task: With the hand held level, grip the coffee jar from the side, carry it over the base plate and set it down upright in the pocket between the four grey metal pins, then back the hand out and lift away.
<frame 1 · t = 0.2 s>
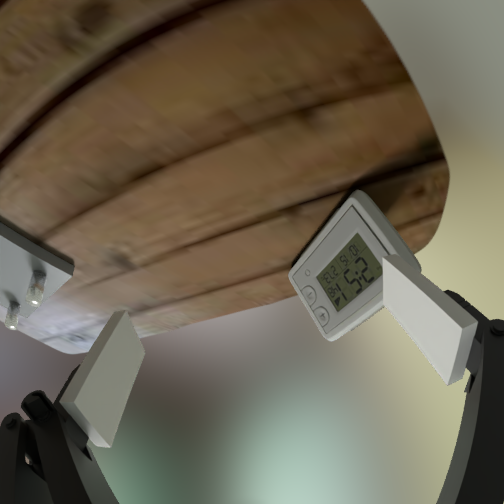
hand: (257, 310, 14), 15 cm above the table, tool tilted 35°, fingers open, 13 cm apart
digital clock: (331, 234, 35), on the table
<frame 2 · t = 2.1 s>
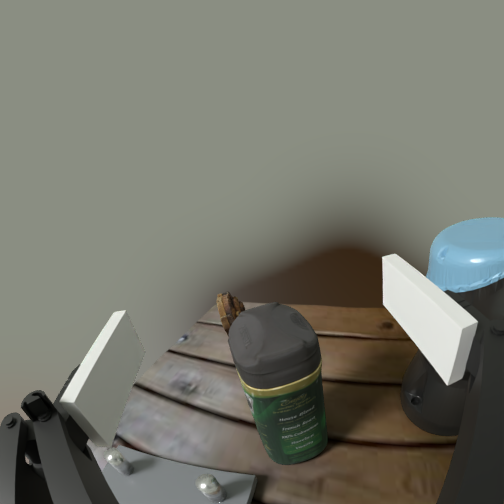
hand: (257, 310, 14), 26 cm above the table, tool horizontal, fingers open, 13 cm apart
wooden carving: (242, 345, 53), on the table
coffee jar: (293, 436, 32), on the table
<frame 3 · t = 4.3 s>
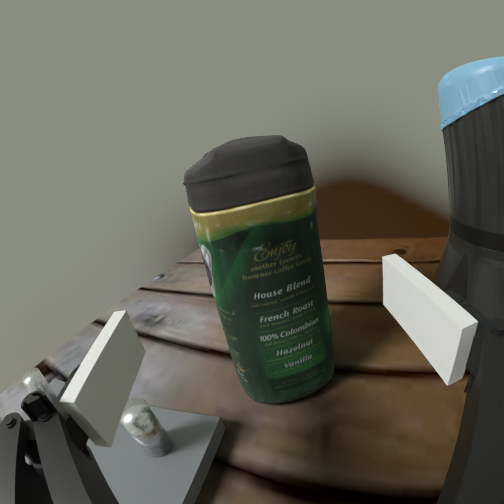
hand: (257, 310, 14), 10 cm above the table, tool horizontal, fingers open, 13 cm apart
coffee jar: (283, 368, 24), on the table
base plate: (67, 489, 13), on the table
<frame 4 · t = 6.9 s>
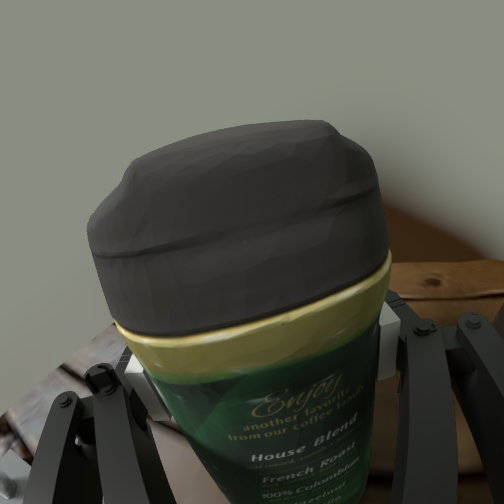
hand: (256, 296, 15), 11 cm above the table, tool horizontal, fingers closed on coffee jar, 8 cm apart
coffee jar: (293, 472, 15), on the table, touching gripper
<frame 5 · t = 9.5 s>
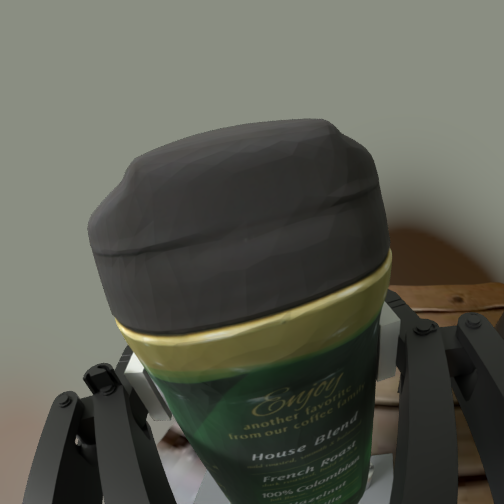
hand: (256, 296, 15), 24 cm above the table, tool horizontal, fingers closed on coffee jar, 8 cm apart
coffee jar: (294, 471, 15), point 13 cm above the table, touching gripper
when the fingers open (13 cm above the table, at t = 12.1 s): coffee jar drops 1 cm, resting on base plate.
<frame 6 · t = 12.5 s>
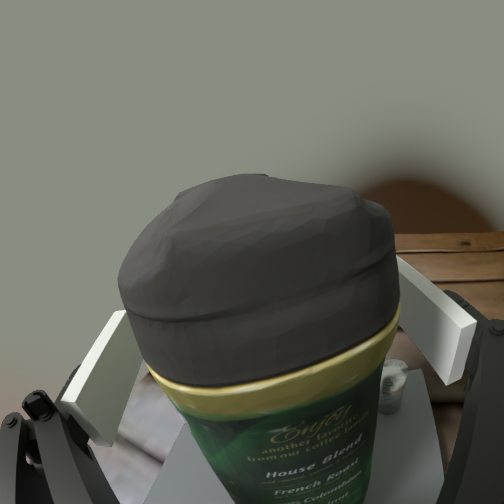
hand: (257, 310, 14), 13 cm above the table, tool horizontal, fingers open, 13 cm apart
coffee jar: (298, 480, 15), point 1 cm above the table, touching base plate
base plate: (297, 486, 15), on the table
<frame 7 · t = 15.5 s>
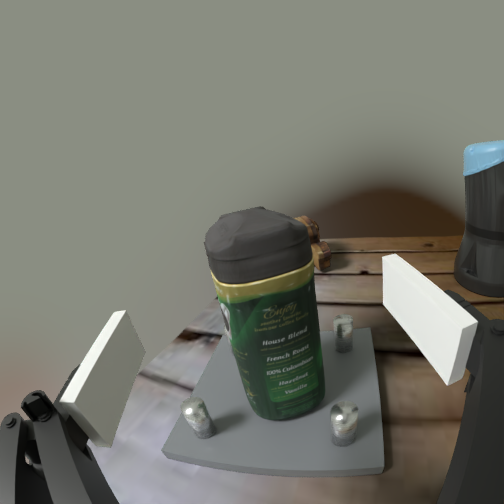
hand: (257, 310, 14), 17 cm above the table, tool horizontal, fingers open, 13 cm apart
wooden carving: (313, 263, 62), on the table
coffee jar: (284, 389, 29), point 1 cm above the table, touching base plate
base plate: (284, 397, 29), on the table
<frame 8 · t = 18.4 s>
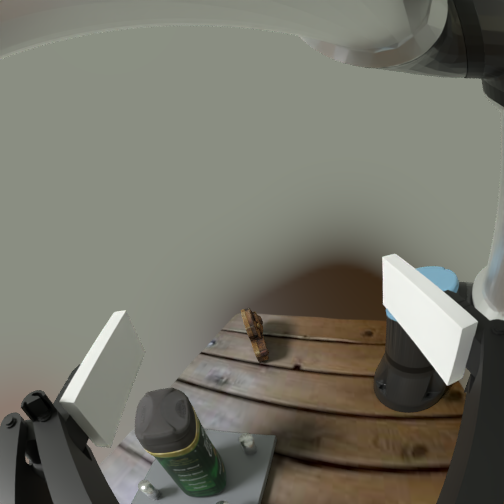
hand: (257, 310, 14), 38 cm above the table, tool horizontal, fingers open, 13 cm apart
wooden carving: (259, 348, 70), on the table
coffee jar: (204, 475, 37), point 1 cm above the table, touching base plate
base plate: (206, 478, 38), on the table
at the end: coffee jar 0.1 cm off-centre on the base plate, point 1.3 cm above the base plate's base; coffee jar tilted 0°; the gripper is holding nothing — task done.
